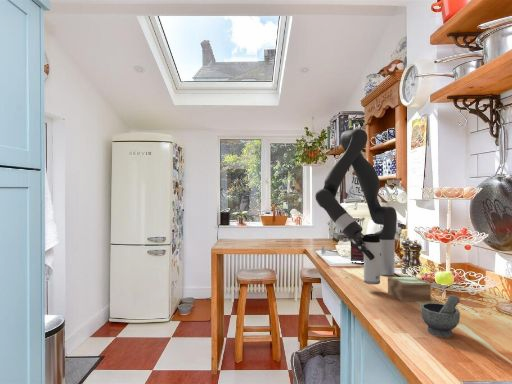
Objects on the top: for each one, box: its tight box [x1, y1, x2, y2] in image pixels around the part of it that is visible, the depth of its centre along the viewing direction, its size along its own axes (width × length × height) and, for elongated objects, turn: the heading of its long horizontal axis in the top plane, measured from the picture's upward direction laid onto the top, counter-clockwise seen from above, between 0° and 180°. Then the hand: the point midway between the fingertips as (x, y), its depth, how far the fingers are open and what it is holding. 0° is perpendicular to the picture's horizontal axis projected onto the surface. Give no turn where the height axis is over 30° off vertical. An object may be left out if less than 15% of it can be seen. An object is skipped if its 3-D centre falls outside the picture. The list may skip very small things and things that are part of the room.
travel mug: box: [363, 233, 381, 285], centre depth 134 cm, size 6×7×20 cm
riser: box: [387, 276, 432, 302], centre depth 127 cm, size 11×11×6 cm
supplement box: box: [350, 243, 364, 262], centre depth 189 cm, size 9×5×16 cm, turn 58°
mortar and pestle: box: [420, 294, 461, 338], centre depth 93 cm, size 11×9×12 cm
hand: (376, 257), depth 133 cm, fingers closed on travel mug, 6 cm apart
